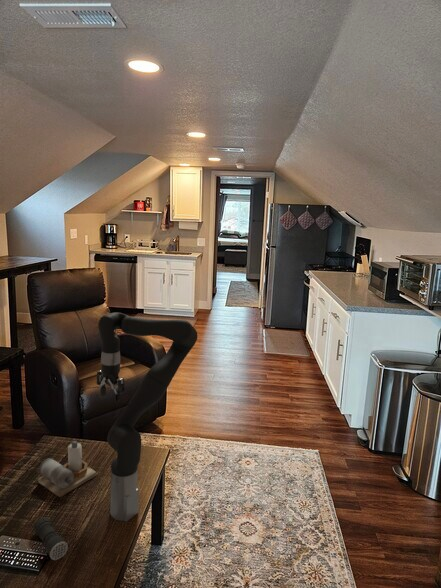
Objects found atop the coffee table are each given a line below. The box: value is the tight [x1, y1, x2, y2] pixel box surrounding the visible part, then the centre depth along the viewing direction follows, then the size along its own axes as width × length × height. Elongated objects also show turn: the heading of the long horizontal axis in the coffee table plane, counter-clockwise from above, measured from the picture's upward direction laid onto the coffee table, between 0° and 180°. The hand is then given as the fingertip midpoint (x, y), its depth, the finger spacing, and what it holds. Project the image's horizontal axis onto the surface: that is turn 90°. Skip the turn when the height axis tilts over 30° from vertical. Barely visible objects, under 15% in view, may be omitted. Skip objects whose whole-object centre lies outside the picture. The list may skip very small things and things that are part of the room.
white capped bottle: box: [67, 440, 83, 472], centre depth 165 cm, size 5×5×13 cm
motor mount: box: [37, 457, 97, 498], centre depth 163 cm, size 15×17×8 cm
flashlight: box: [33, 516, 69, 561], centre depth 132 cm, size 15×5×5 cm, turn 44°
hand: (110, 398), depth 170 cm, fingers open, 8 cm apart
